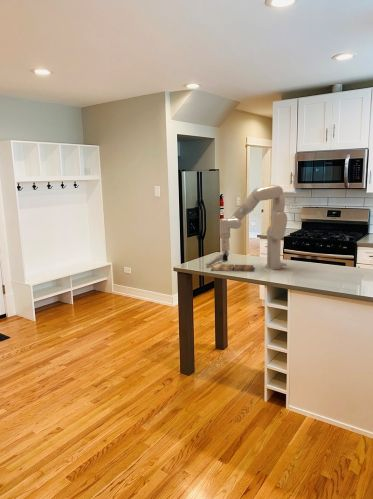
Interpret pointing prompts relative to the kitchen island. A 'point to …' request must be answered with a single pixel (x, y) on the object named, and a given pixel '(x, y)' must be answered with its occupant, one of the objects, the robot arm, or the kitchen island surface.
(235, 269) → the walnut plank
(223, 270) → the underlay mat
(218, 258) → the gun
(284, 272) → the kitchen island surface
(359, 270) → the kitchen island surface
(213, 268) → the beige irregular flat piece
